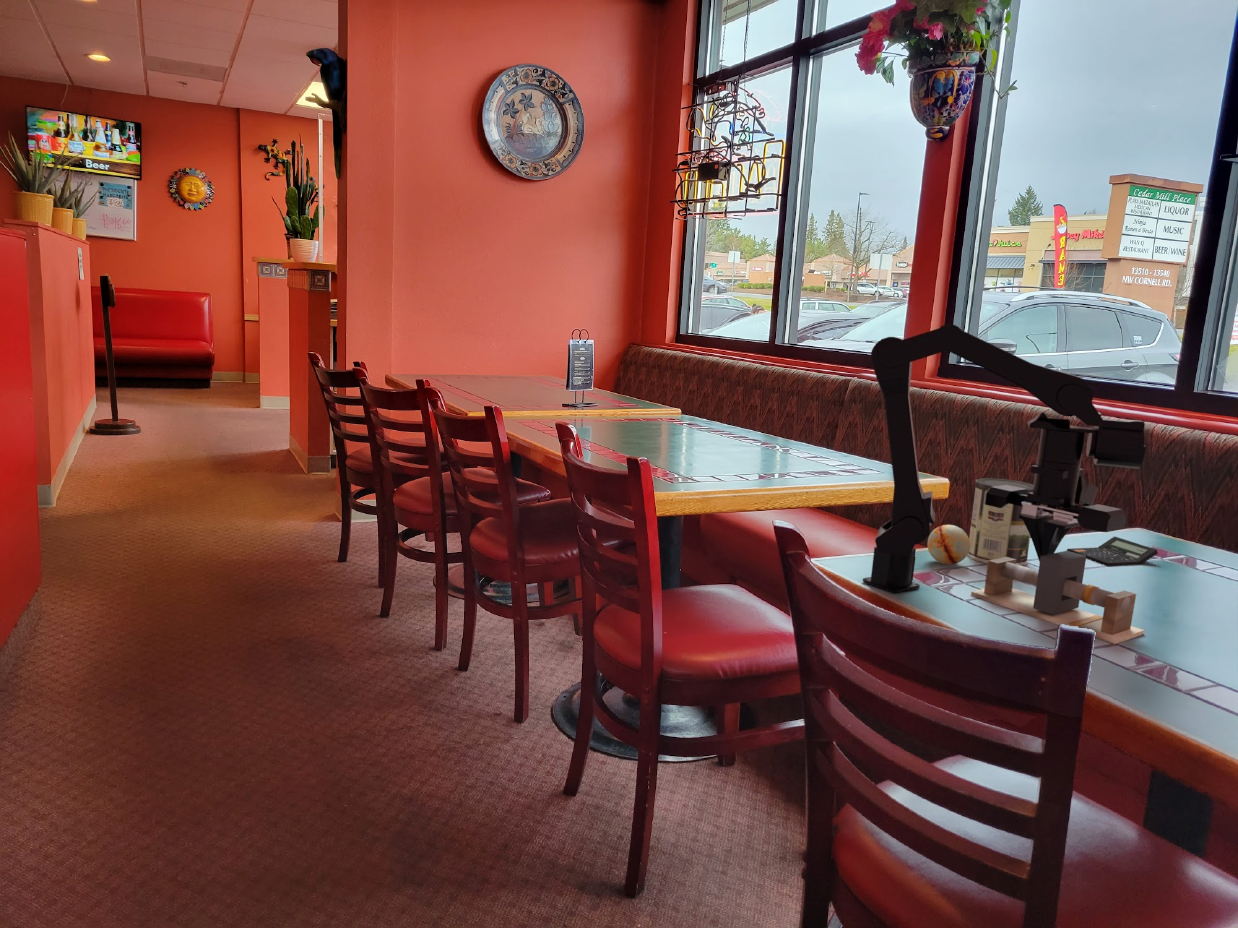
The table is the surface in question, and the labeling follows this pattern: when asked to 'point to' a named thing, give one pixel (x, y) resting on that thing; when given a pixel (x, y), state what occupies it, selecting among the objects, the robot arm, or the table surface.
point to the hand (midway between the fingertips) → (1043, 563)
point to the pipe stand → (1115, 605)
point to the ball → (948, 544)
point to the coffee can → (998, 526)
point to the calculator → (1117, 552)
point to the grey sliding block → (1057, 581)
